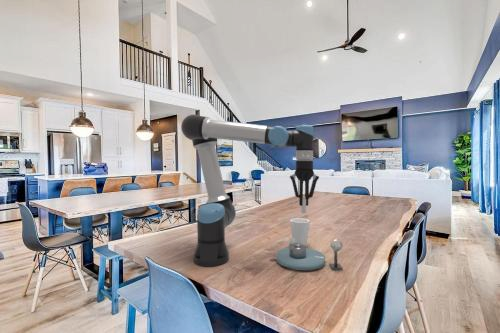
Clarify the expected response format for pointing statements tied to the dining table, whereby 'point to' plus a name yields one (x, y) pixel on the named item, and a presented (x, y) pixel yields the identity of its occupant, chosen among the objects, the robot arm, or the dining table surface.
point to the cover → (297, 251)
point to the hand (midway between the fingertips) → (303, 212)
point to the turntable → (309, 263)
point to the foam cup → (300, 230)
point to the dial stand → (336, 246)
